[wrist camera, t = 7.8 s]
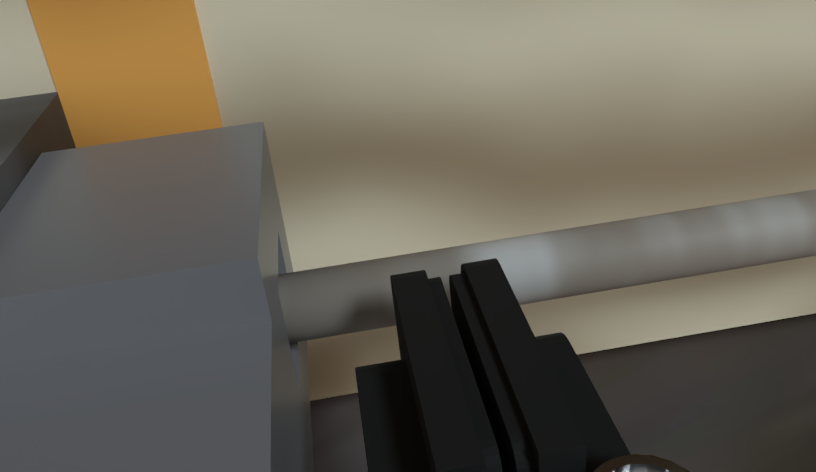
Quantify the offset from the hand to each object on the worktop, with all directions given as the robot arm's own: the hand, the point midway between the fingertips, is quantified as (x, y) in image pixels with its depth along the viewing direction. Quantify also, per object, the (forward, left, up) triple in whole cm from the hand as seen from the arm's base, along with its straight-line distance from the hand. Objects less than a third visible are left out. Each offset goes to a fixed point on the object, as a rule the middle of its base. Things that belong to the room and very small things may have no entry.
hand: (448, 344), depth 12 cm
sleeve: (0, -5, -4) cm, 6 cm away
